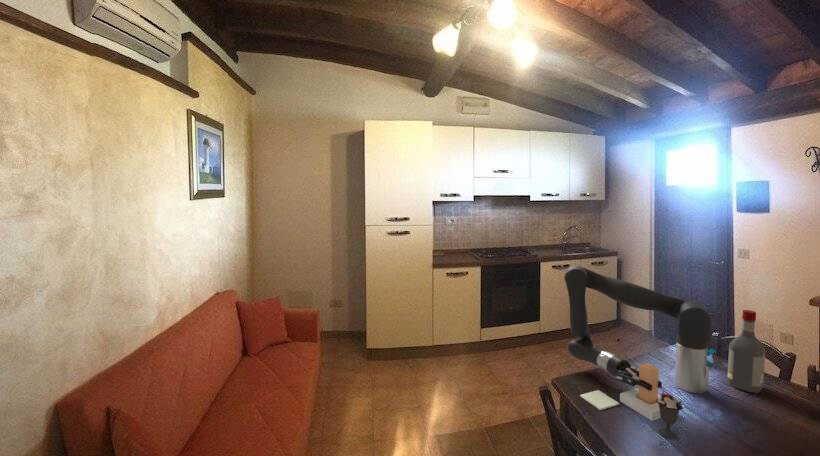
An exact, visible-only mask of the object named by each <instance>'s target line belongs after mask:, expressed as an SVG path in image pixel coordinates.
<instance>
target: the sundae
mask: <svg viewBox="0 0 820 456" xmlns="http://www.w3.org/2000/svg"><path fill="white" fill-rule="evenodd" d="M659 389H661V390H662V393H660V397H659V398H657V399H656V402H657V403H658V404H659V410H660V417H661V418H660V419H661V420H662V421H663V422H664V423H665V427H660V428H658V429H657V432H658V433H659V434H660V435H661V436H662V437H664V438H666V439H671V440H674V439H677V438H679V437H678V434H677V433H676V432H675V431H673V430H672V429H671V425H674V424H676V423H677V420H678V417H679V416H678V415H679V412H680V411H681V410H684V407H683V405H682V401H683V400H680V401H679V402H678V401H677V399H676V398H675V397H674V396H673V395H672V394H669V393H667V391H666V390H665V389H664V387H663V386H662V387H660V388H659Z"/></svg>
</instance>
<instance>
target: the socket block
mask: <svg viewBox="0 0 820 456" xmlns="http://www.w3.org/2000/svg"><path fill="white" fill-rule="evenodd" d="M638 394H639V387H638V388H633V389H631V390H627V391H623V392H620V393H619V402H621V403H622V404H623V405H626V406H627V407H629V408H630V409H632V410H634V411H636V412H637V413H638V414H640V415H642V416H643V417H645V418H646V419H648V420H650V421H651V422H653V421H656V420H658V419H661V417H660V410H659V404H658V403H654V404H650V405H649V404H648V403H646V402H644V401H642V400H641V399H639V398H638ZM660 396H661V394H659V393H658V398H659V397H660Z"/></svg>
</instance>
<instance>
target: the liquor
mask: <svg viewBox="0 0 820 456" xmlns="http://www.w3.org/2000/svg"><path fill="white" fill-rule="evenodd" d="M741 318H742V327H741V329H742V330H741V333H740V335H738V336H736V337H735V338H733V340H731V341H730V342H729V345H728V346H729V347H728V359H727V360H728V363H727V378H726V380H727V381H726V382H727V383H728V385H730V386H733V387H732V388H734V387H735V389H737V388H738V390H740V389H742V390H741V391H743V390H745V391H744V392H746V391H748V392H747V393H749V392H755V393H754V394H759V393H760V392H761V391H762V389H763V387H764V378H765V364H766V363H765V362H766V347H765V345H764V344H763V343H762V342H761V341H760V340H759V339H758V338H757V337H756V333H755V323H756V322H755V321H756V320H757V311H754V310H751V309H750V310H749V309H742V317H741Z"/></svg>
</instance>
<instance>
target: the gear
mask: <svg viewBox="0 0 820 456" xmlns="http://www.w3.org/2000/svg"><path fill="white" fill-rule="evenodd" d="M715 353H717V351H716V350H715V349H713V348H711V349H708V348H707V357H710V356H711V355H714V354H715ZM706 366H708V367H710V366H711V363H710V361H709V360H708V359H707V363H706Z"/></svg>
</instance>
